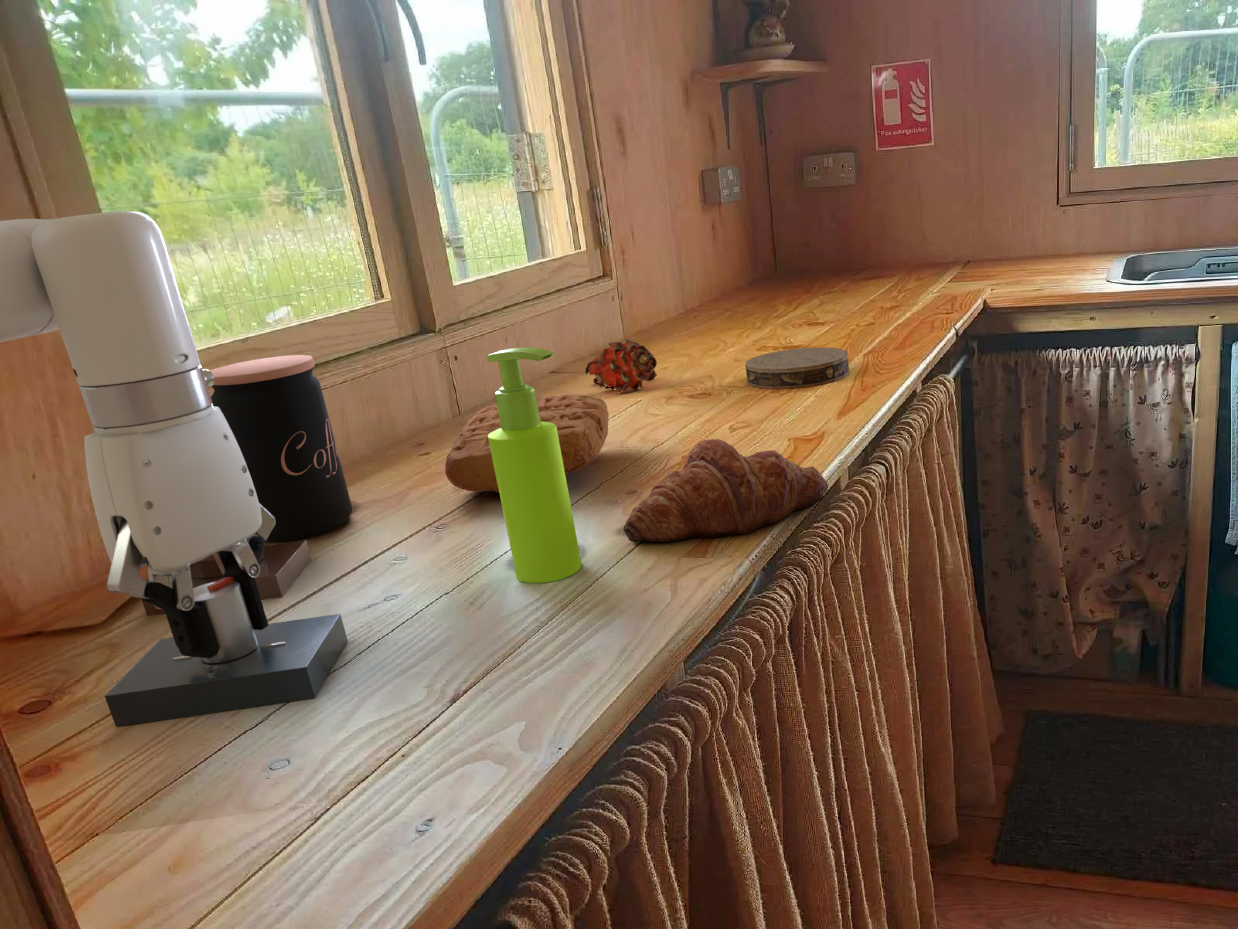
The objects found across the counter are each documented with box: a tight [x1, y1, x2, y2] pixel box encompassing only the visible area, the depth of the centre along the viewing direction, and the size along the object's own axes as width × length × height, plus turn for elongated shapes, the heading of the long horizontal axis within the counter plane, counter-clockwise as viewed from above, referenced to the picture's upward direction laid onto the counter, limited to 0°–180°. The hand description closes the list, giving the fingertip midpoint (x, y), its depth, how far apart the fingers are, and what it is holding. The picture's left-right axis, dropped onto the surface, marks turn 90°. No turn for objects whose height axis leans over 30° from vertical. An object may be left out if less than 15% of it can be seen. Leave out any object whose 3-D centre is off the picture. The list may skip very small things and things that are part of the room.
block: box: [141, 539, 312, 617], centre depth 103 cm, size 12×10×4 cm
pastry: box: [623, 438, 829, 544], centre depth 106 cm, size 17×15×8 cm
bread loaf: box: [444, 393, 610, 493], centre depth 128 cm, size 22×17×8 cm
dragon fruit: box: [583, 338, 658, 393], centre depth 172 cm, size 8×8×12 cm
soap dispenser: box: [486, 346, 582, 584], centre depth 95 cm, size 6×7×20 cm
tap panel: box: [104, 613, 349, 728], centre depth 83 cm, size 14×10×3 cm
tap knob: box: [193, 577, 258, 663], centre depth 81 cm, size 4×4×5 cm
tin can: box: [744, 346, 850, 390], centre depth 168 cm, size 16×16×3 cm
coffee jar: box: [209, 354, 353, 544], centre depth 116 cm, size 11×11×18 cm
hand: (225, 638), depth 82 cm, fingers closed on tap knob, 4 cm apart
